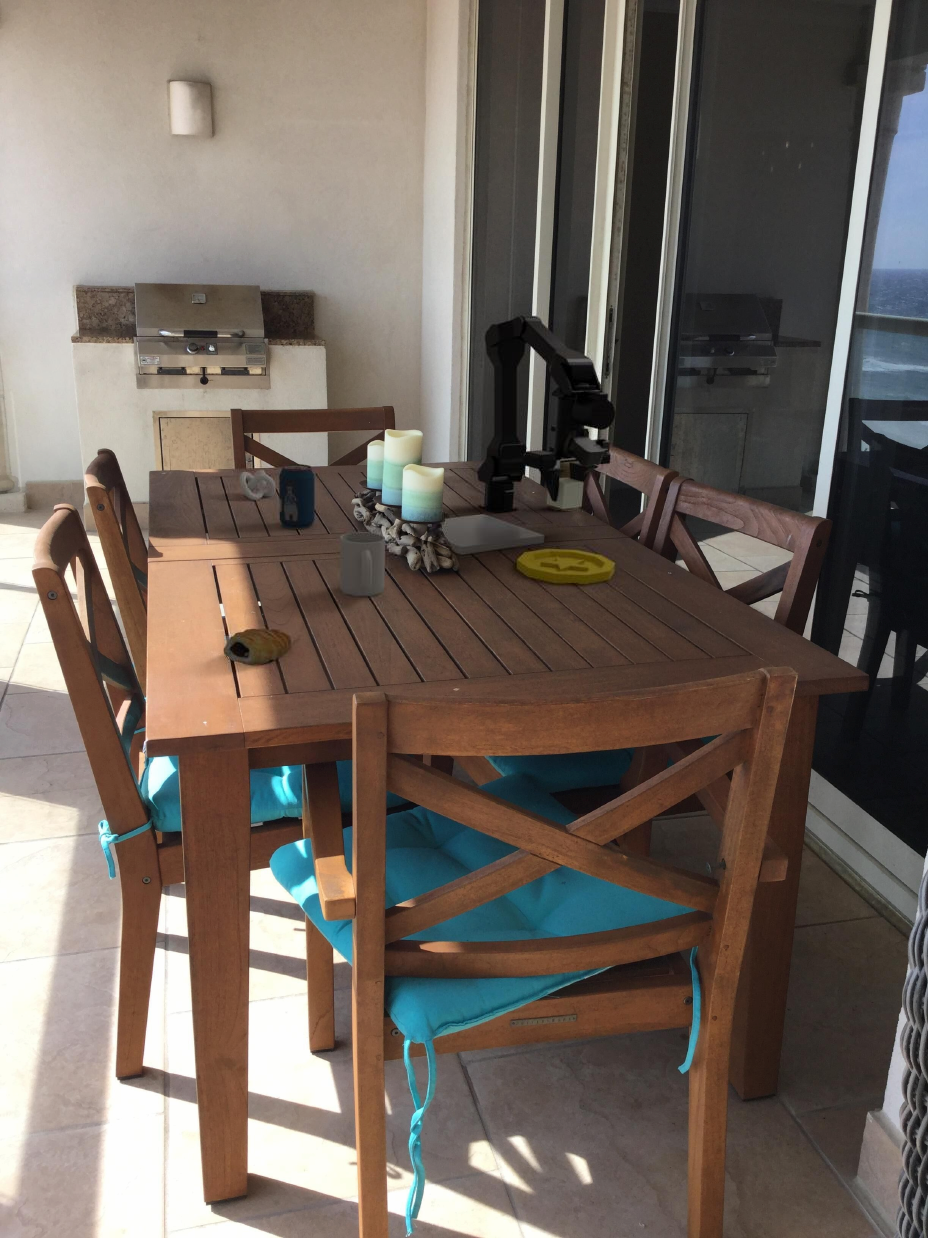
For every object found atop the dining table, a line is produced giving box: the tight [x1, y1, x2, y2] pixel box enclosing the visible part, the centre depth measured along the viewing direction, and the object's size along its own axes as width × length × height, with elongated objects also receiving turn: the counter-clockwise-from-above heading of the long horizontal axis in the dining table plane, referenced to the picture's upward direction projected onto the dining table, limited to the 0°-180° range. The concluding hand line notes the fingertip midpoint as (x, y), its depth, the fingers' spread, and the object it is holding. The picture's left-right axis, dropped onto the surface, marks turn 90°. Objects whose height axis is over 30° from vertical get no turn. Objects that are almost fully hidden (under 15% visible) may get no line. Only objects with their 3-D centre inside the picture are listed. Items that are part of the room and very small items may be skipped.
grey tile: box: [442, 513, 545, 555], centre depth 208 cm, size 20×20×2 cm
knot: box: [238, 469, 277, 501], centre depth 233 cm, size 8×8×6 cm
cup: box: [339, 531, 386, 598], centre depth 169 cm, size 7×10×9 cm
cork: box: [549, 462, 578, 511], centre depth 235 cm, size 6×6×11 cm
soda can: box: [278, 463, 316, 530], centre depth 209 cm, size 7×7×12 cm
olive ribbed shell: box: [223, 628, 292, 666], centre depth 142 cm, size 9×7×4 cm
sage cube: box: [546, 478, 584, 509], centre depth 211 cm, size 5×5×5 cm
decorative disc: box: [516, 548, 616, 585], centre depth 188 cm, size 17×18×2 cm
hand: (564, 499), depth 211 cm, fingers closed on sage cube, 5 cm apart
